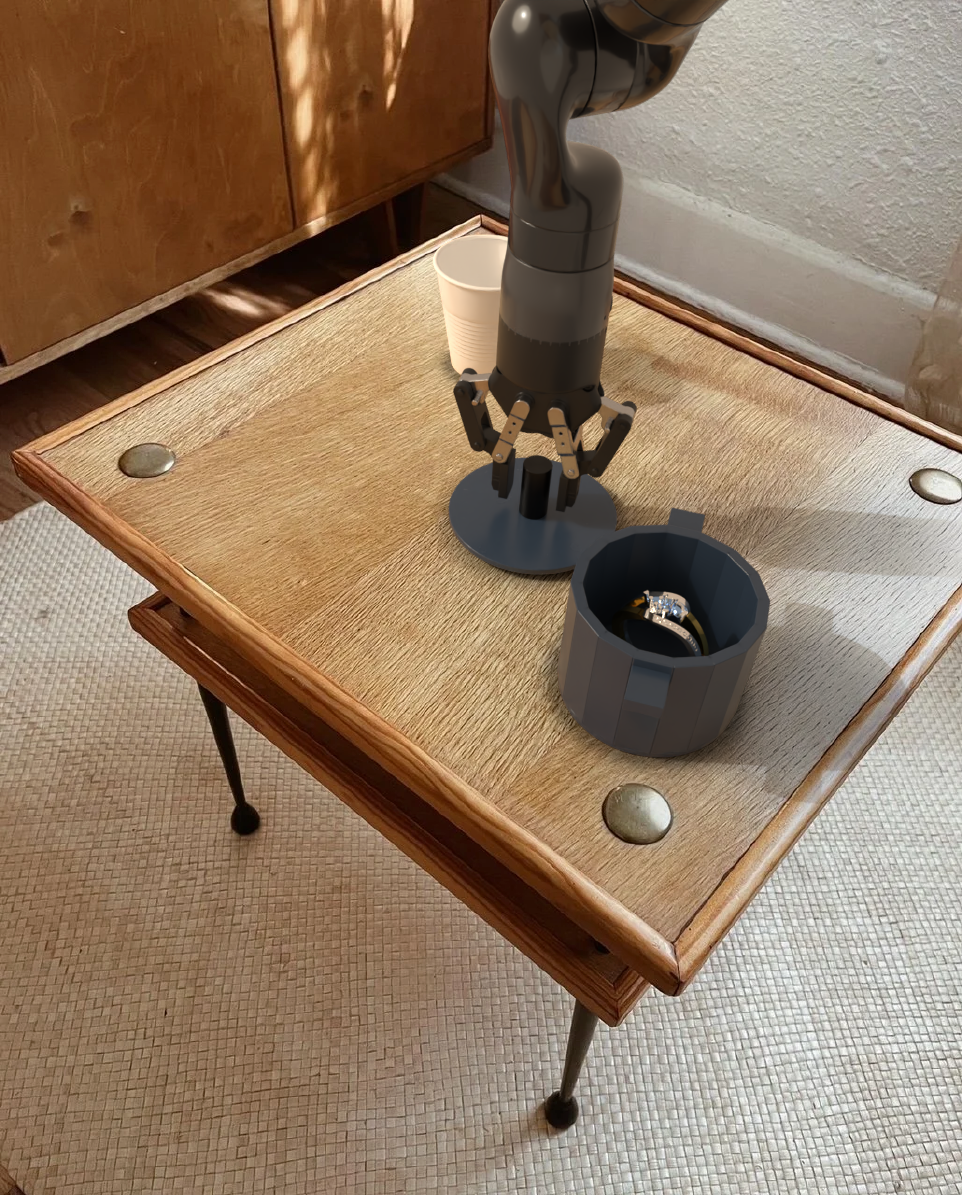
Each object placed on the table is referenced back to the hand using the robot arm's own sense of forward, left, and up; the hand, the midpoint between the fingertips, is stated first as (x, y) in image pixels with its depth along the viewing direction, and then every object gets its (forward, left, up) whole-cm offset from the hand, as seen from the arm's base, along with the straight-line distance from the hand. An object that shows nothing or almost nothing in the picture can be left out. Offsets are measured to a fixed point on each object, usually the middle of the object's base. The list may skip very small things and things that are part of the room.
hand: (534, 497), depth 82 cm
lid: (0, 0, -2) cm, 2 cm away
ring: (-12, +14, -2) cm, 19 cm away
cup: (+10, -20, -3) cm, 23 cm away
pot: (-12, +14, -2) cm, 19 cm away
